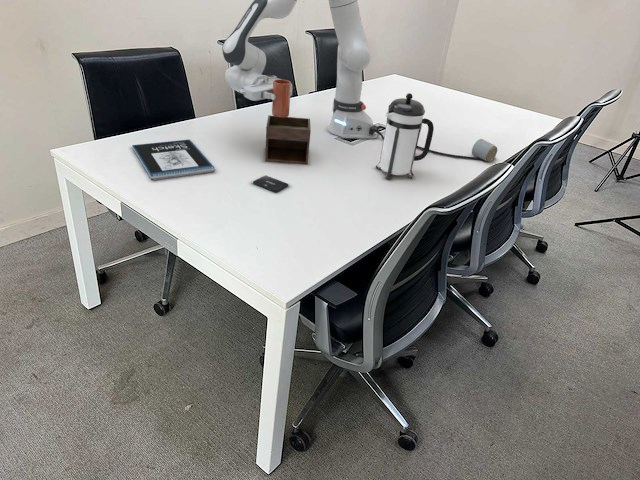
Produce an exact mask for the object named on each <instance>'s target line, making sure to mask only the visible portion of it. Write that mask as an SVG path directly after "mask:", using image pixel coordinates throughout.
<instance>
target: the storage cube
mask: <svg viewBox="0 0 640 480" xmlns="http://www.w3.org/2000/svg"><path fill="white" fill-rule="evenodd" d="M311 127H312V126H311V118H308V117H307V118H306V117H294V116H293V117H292V116H288V117H276V116H273V115H269V114H268V115H267V121H266V126H265V154H264V155H265V156H264V158H265V159H264V161H265V163H278V164H279V163H280V164H281V163H282V164H294V165H308V164H309V155H310V142H311V131H312V129H311Z"/></svg>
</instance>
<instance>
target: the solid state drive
mask: <svg viewBox="0 0 640 480" xmlns="http://www.w3.org/2000/svg"><path fill="white" fill-rule="evenodd" d="M252 184H254V185H256V186H259V187H261V188H264V189H266V190H268V191H271V192H273V193H279V192H280V191H281V190H283V189H285V188H287V187H289V183H287V182H285V181H281V180H279V179H277V178H273V177H271V176H269V175H265V174H264V175H262V176H261V177H259V178H257V179H255V180H253V181H252Z"/></svg>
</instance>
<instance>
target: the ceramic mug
mask: <svg viewBox="0 0 640 480" xmlns="http://www.w3.org/2000/svg"><path fill="white" fill-rule="evenodd" d="M471 155H472V157H479V158H481V159H483V160H482V161H484V162H491V161H493V160H494V159H495V157H496V156H497V155H498V147H497V146H496V145H495V144H493V143H491V142H489V141H487V140H485V139H484V138H479V139H477V140H476V141H475V142H474V144H473V146H472V148H471Z"/></svg>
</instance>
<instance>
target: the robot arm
mask: <svg viewBox="0 0 640 480" xmlns="http://www.w3.org/2000/svg"><path fill="white" fill-rule="evenodd" d="M297 2H298V0H253V1H252V2H251V4H250V5H249V7H248V8H247V10H246V11H245V13H244V14H243V16H242V18H241V19H240V21H238V24H236V27H235V28H234V30H233V31H232V32H231V33H230V34H229V36H227V38H226V39H225V40H224V42H223V44H222V49H221V50H222V55H223V59H224V61H225V62H226V63H228V64H231V65H232V66H230V67H228V68H227V69H226V70H225V74H224V80H225V82H226V84H227V86H228V87H229V88H231V90H233V91H236V92H238V93H239V94H243V97H244V98H246V99H248V100H250V101H253V102H258V101H262V100H266V99H267V100H275V99H277V95H276V94H274V93H273V81H274V80H278V79H279V78H278V76H276V75H271V74H269V75H268V74H266V75H265V74H264V72H265V70H266V67H267V61H268V60H267V55H266V52H264V50H262V49H261V48H259V47H258V46H256V45H254V44H252V43H250V42H249V38H250V37H251V35H252V33H253V32H254V30H255V29H256V27H257V26H258V24H259V23H260V22H261V21H262V20H264V19H273V20H275V19H276V20H280V19H285V18H287V17H288V16H290V15H291V13H292V12H293V10H294V8H295V6H296V4H297ZM328 4H329V9H330V15H331V19H332V24H333V29H334V31H335V35H336V38H337V43H338V45H337V59H336V87H335V95H334V98H333V101H332V115H331V119H330V122H329V126H328V128H327V131H328V132H329V133H330V134H333V135H335V136H339V137H341V138H343V139H359V140H360V139H363V140H364V139H369V140H371V139H372V140H373V139H374V140H375V139H377V138H378V135H379V136H380V137H381V139H382V140H384V135H383V133H381V132H380V131H379V130H377V125H376V124H374V120H373V118H372V117H371V116H370V115H369V114H368V113H367V112H365V111H366V108H367V106H366V104H365V103H364V102H363V101H362V100H361V96H362V89H363V71H364V70H366V68H368V66H369V65H370V62H371V54H370V49H369V45H368V41H367V38H366V37H367V36H366V34H365V33H366V32H365V30H364V26H363V22H362V17H361V12H360V7H359V2H358V0H328ZM290 97H293V83H291V91H290ZM416 149H418V150H422V151H423V150H424V146H419V145H417V148H416ZM428 153H432V154H436V155H440V156H445V157H451V158H458V159H467V160H468V159H469V160H475V161H476V160H477V161H484V160H483V159H481V158H479V157H475V156H468V155H458V154H451V153H446V152H440V151H436V150H433V149H429V151H428Z"/></svg>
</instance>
